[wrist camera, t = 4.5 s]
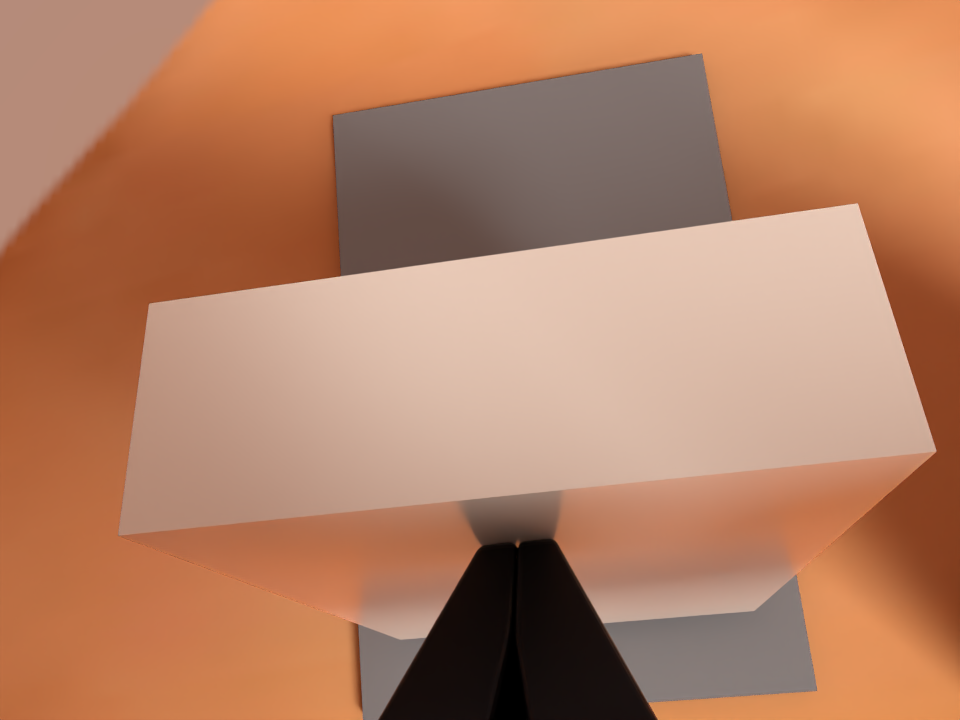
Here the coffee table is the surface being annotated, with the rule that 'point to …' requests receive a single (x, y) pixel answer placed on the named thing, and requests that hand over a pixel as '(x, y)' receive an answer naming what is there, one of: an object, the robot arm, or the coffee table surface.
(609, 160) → the mat
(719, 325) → the tile
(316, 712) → the coffee table surface
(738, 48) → the coffee table surface
